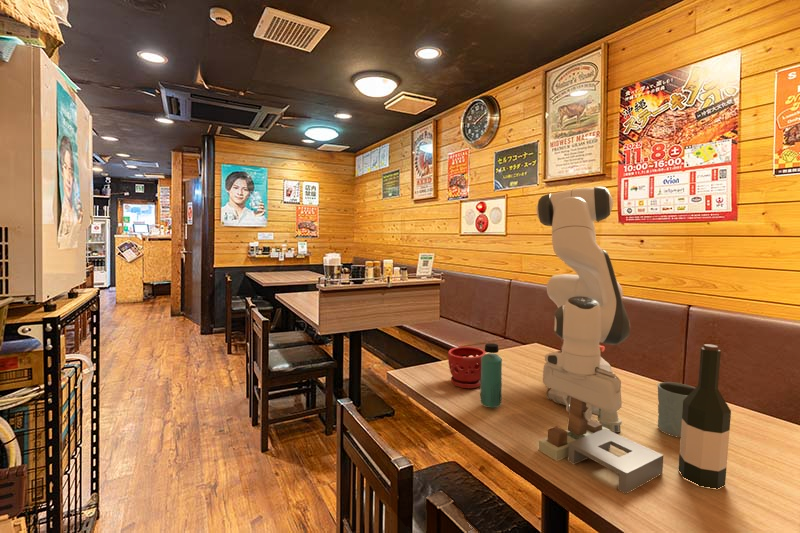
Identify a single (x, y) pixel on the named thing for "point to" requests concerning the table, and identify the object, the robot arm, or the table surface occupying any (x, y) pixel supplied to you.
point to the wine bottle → (705, 426)
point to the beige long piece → (603, 417)
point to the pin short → (594, 426)
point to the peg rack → (563, 450)
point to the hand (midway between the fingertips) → (578, 414)
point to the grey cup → (671, 406)
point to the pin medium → (557, 436)
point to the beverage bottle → (491, 377)
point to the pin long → (577, 417)
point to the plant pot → (465, 366)
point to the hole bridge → (630, 466)
